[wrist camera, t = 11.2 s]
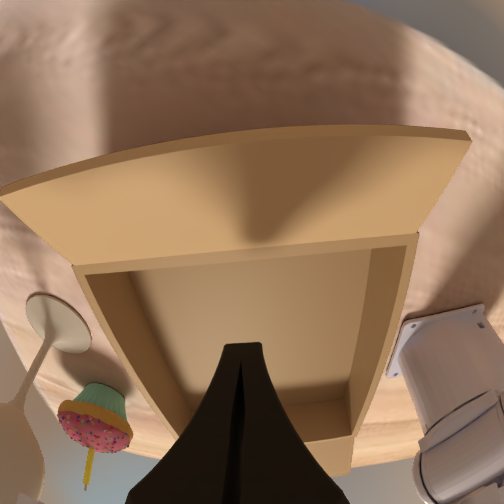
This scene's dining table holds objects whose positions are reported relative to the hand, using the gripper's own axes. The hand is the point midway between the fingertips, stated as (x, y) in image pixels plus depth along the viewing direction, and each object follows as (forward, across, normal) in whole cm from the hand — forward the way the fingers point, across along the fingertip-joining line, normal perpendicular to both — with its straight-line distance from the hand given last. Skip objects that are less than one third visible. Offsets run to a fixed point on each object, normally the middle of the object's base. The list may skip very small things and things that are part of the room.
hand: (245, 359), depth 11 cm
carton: (+9, 0, +8) cm, 12 cm away
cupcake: (+9, +18, +17) cm, 27 cm away
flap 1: (+2, 0, -5) cm, 6 cm away
